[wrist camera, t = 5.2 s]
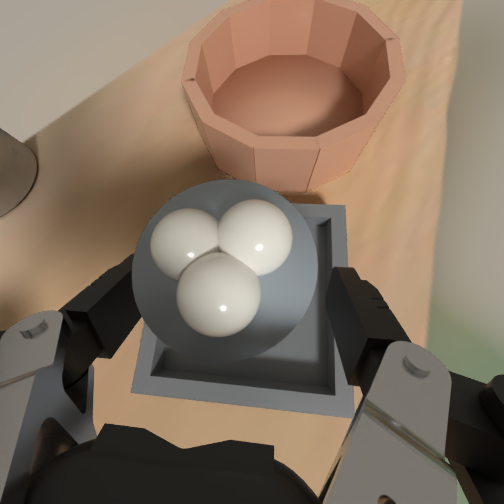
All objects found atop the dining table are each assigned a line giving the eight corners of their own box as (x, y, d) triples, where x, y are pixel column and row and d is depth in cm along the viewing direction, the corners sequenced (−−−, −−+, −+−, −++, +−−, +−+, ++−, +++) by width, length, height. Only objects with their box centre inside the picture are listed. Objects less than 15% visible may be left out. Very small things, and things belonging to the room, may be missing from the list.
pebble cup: (210, 325, 15) (61, 362, 4) (219, 256, 16) (127, 143, 5) (281, 332, 14) (335, 396, 4) (285, 261, 16) (331, 150, 5)
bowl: (191, 188, 19) (166, 146, 14) (213, 60, 23) (200, -6, 18) (376, 194, 18) (416, 151, 13) (364, 57, 22) (391, -13, 17)
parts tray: (152, 379, 15) (130, 392, 13) (181, 213, 18) (169, 198, 16) (339, 400, 14) (354, 418, 12) (334, 219, 17) (345, 205, 15)
